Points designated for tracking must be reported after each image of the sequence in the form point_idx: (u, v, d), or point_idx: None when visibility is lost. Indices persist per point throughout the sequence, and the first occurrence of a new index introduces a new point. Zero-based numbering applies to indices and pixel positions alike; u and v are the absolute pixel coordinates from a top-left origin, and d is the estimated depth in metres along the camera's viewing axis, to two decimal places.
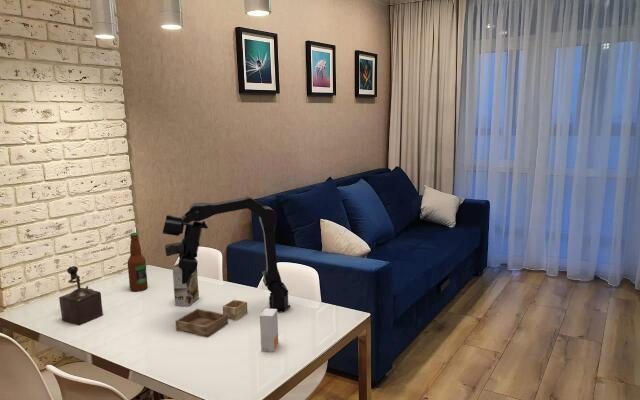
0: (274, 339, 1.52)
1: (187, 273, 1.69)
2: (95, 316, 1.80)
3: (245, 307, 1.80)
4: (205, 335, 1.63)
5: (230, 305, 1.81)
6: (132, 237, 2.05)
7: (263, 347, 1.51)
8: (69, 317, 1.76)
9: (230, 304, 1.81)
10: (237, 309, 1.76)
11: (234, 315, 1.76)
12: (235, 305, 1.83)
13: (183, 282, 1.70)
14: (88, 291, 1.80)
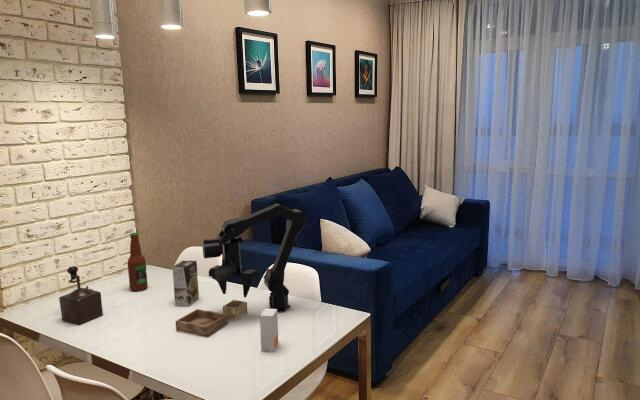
0: (274, 339, 1.52)
1: (248, 286, 1.76)
2: (95, 316, 1.80)
3: (245, 307, 1.80)
4: (205, 335, 1.63)
5: (230, 305, 1.81)
6: (132, 237, 2.05)
7: (263, 347, 1.51)
8: (69, 317, 1.76)
9: (230, 304, 1.81)
10: (237, 309, 1.76)
11: (234, 315, 1.76)
12: (235, 305, 1.83)
13: (245, 295, 1.77)
14: (88, 291, 1.80)
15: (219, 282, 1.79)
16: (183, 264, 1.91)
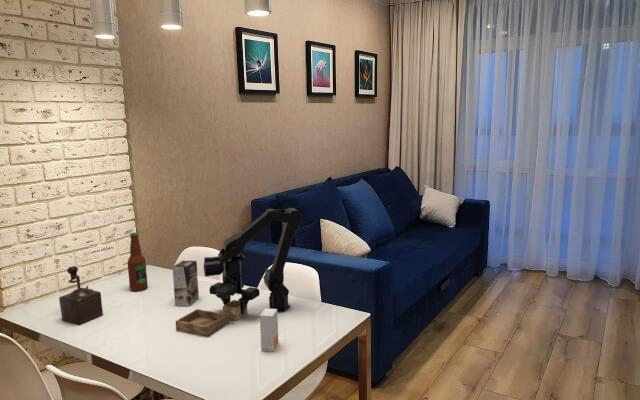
0: (274, 339, 1.52)
1: (245, 303, 1.78)
2: (95, 316, 1.80)
3: None
4: (205, 335, 1.63)
5: (230, 305, 1.81)
6: (132, 237, 2.05)
7: (263, 347, 1.52)
8: (69, 317, 1.76)
9: (230, 304, 1.81)
10: (237, 309, 1.76)
11: (234, 315, 1.76)
12: (235, 305, 1.83)
13: (242, 312, 1.78)
14: (88, 291, 1.80)
15: (223, 300, 1.80)
16: (183, 264, 1.91)
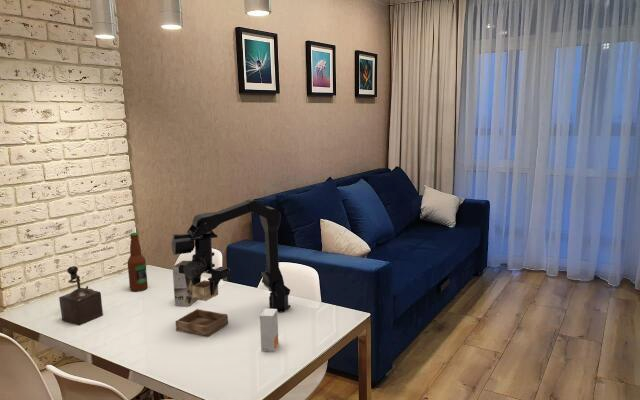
0: (274, 339, 1.52)
1: (215, 283, 1.68)
2: (95, 316, 1.80)
3: (216, 288, 1.71)
4: (205, 335, 1.63)
5: (200, 285, 1.71)
6: (132, 237, 2.05)
7: (263, 347, 1.51)
8: (69, 317, 1.76)
9: (200, 284, 1.71)
10: (206, 289, 1.66)
11: (203, 295, 1.66)
12: (205, 286, 1.73)
13: (212, 293, 1.69)
14: (88, 291, 1.80)
15: (192, 280, 1.70)
16: None
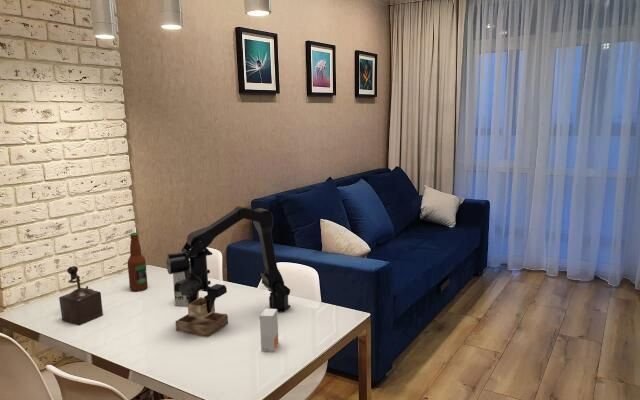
0: (274, 339, 1.52)
1: (212, 300, 1.68)
2: (95, 316, 1.80)
3: None
4: (205, 335, 1.63)
5: (196, 303, 1.71)
6: (132, 237, 2.05)
7: (263, 347, 1.51)
8: (69, 317, 1.76)
9: (196, 302, 1.71)
10: (203, 307, 1.65)
11: (200, 313, 1.65)
12: (202, 303, 1.73)
13: (209, 310, 1.68)
14: (88, 291, 1.80)
15: (188, 298, 1.69)
16: None
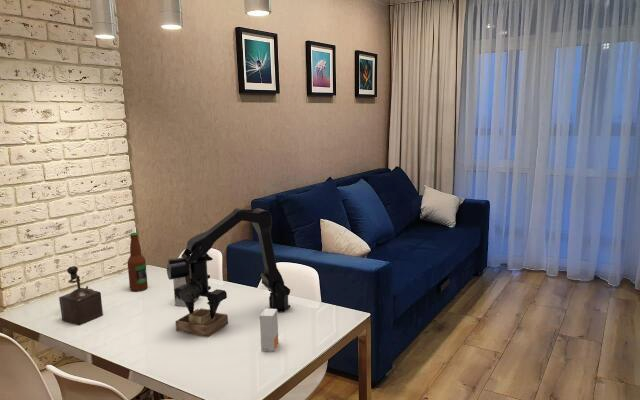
0: (274, 339, 1.52)
1: (215, 306, 1.67)
2: (95, 316, 1.80)
3: None
4: (205, 335, 1.63)
5: (197, 314, 1.71)
6: (132, 237, 2.05)
7: (263, 347, 1.51)
8: (69, 317, 1.76)
9: (197, 313, 1.71)
10: (203, 318, 1.66)
11: None
12: (203, 314, 1.73)
13: (212, 316, 1.68)
14: (88, 291, 1.80)
15: (186, 302, 1.70)
16: None
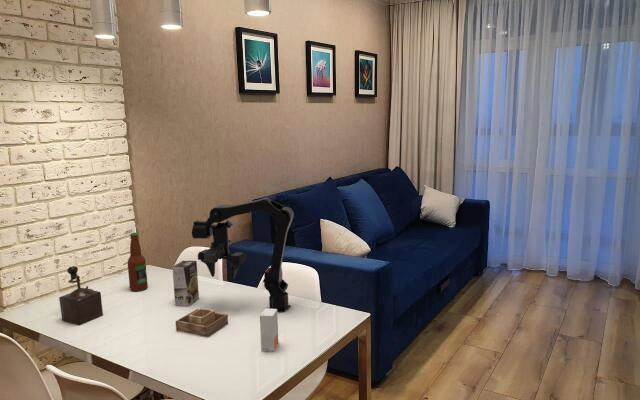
0: (274, 339, 1.52)
1: (236, 268, 1.84)
2: (95, 316, 1.80)
3: (213, 316, 1.71)
4: (205, 335, 1.63)
5: (197, 314, 1.71)
6: (132, 237, 2.05)
7: (263, 347, 1.51)
8: (69, 317, 1.76)
9: (197, 313, 1.71)
10: (203, 318, 1.66)
11: None
12: (203, 314, 1.73)
13: (233, 277, 1.85)
14: (88, 291, 1.80)
15: (208, 265, 1.86)
16: (183, 264, 1.91)
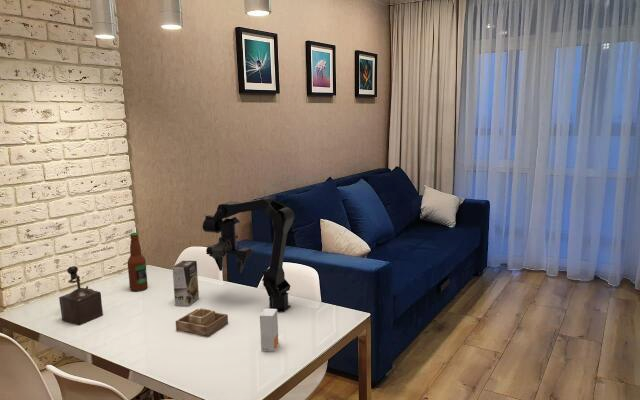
0: (274, 339, 1.52)
1: (242, 262, 1.90)
2: (95, 316, 1.80)
3: (213, 316, 1.71)
4: (205, 335, 1.63)
5: (197, 314, 1.71)
6: (132, 237, 2.05)
7: (263, 347, 1.51)
8: (69, 317, 1.76)
9: (197, 313, 1.71)
10: (203, 318, 1.66)
11: None
12: (203, 314, 1.73)
13: (240, 271, 1.91)
14: (88, 291, 1.80)
15: (216, 259, 1.93)
16: (183, 264, 1.91)
